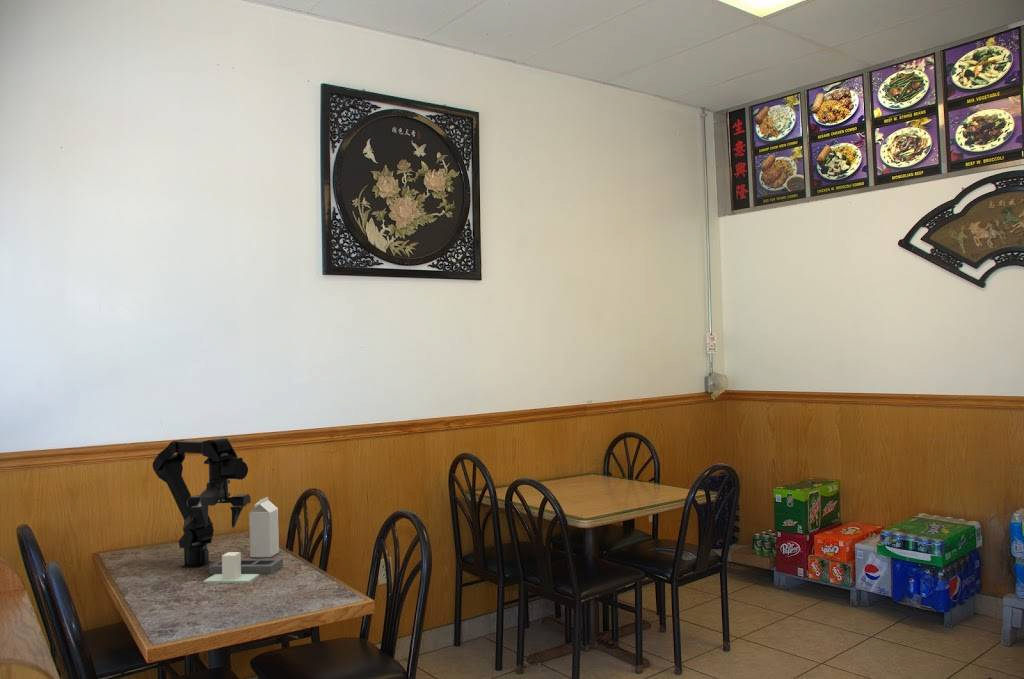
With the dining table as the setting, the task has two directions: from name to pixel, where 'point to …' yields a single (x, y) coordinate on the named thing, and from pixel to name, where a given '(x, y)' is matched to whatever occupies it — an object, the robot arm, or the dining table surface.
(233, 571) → the plug
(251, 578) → the mat
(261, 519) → the milk carton
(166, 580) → the dining table surface
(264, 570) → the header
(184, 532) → the robot arm
